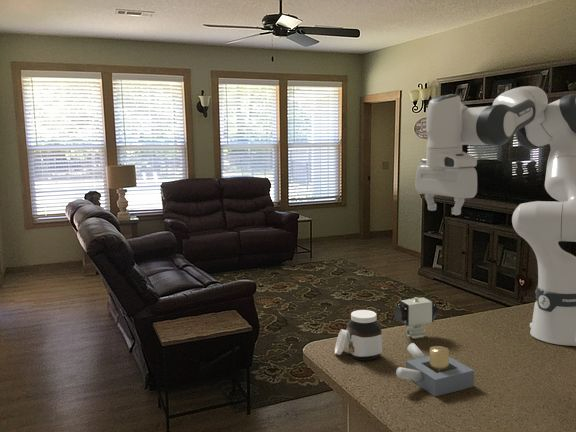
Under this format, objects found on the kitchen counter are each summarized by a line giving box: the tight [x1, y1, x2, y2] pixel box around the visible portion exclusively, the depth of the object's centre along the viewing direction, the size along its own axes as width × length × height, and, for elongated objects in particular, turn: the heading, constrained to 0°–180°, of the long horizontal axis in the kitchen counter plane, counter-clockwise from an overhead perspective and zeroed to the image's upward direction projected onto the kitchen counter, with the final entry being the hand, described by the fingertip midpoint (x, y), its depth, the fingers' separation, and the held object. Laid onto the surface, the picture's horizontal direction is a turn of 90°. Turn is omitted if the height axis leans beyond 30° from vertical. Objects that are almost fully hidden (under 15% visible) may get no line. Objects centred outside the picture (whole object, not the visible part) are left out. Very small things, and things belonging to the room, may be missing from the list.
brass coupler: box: [429, 345, 450, 373], centre depth 120 cm, size 4×4×8 cm
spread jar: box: [334, 309, 383, 361], centre depth 136 cm, size 12×11×12 cm
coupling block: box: [395, 342, 475, 397], centre depth 122 cm, size 17×17×6 cm
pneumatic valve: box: [394, 296, 439, 340], centre depth 148 cm, size 6×12×12 cm, turn 106°
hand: (443, 212), depth 131 cm, fingers open, 8 cm apart
